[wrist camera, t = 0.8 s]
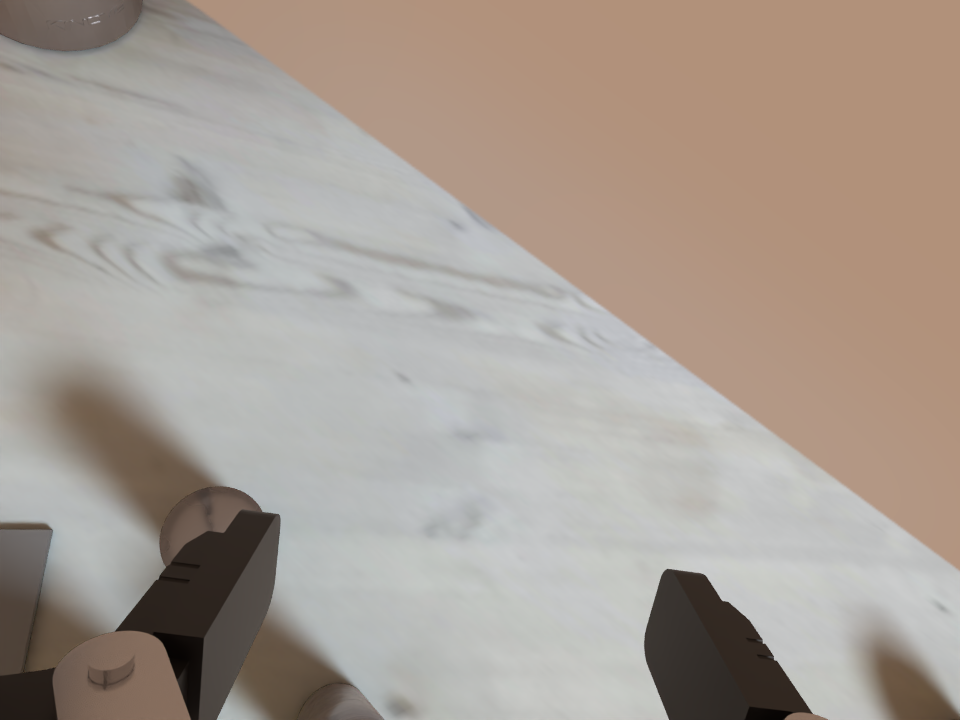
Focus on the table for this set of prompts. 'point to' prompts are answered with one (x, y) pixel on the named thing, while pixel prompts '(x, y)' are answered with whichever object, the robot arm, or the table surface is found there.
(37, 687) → the robot arm
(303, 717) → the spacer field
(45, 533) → the mat
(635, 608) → the table surface
